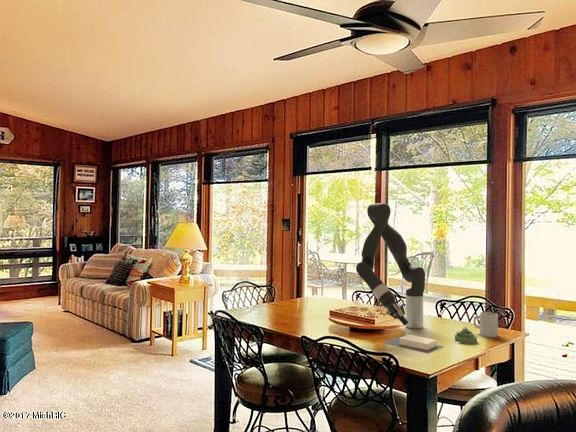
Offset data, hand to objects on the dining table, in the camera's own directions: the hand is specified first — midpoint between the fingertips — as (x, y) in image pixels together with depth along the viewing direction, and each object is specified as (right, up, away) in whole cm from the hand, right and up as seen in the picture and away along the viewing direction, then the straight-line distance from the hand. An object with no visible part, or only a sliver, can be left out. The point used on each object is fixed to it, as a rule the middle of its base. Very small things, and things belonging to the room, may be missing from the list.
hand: (406, 324), depth 219 cm
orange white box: (-1, -7, 0) cm, 7 cm away
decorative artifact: (+30, -10, +6) cm, 32 cm away
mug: (+45, -10, +18) cm, 49 cm away
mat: (+2, -10, -3) cm, 10 cm away
